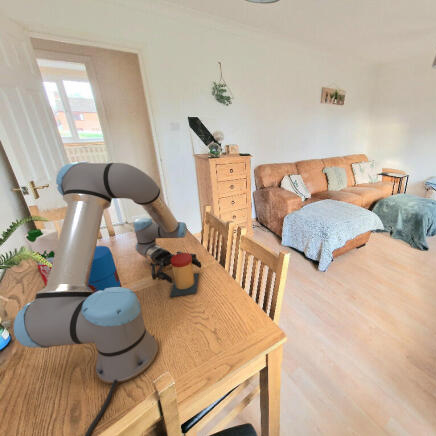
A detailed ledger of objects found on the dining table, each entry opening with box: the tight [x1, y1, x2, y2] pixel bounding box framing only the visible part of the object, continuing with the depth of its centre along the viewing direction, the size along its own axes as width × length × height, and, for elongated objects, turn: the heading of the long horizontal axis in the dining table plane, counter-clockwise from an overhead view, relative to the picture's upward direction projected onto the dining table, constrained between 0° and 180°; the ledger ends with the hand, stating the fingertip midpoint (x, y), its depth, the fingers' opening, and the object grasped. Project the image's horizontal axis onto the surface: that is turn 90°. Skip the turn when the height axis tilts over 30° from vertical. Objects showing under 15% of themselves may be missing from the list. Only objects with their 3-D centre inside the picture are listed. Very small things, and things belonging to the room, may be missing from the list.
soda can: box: [37, 257, 54, 287], centre depth 99 cm, size 6×6×12 cm
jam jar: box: [171, 262, 195, 289], centre depth 102 cm, size 8×8×13 cm
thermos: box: [88, 245, 123, 293], centre depth 84 cm, size 11×11×25 cm
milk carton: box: [23, 228, 59, 264], centre depth 108 cm, size 9×9×20 cm
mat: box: [169, 272, 200, 298], centre depth 104 cm, size 14×10×1 cm
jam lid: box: [170, 252, 192, 267], centre depth 99 cm, size 8×8×2 cm
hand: (186, 272), depth 100 cm, fingers open, 13 cm apart
